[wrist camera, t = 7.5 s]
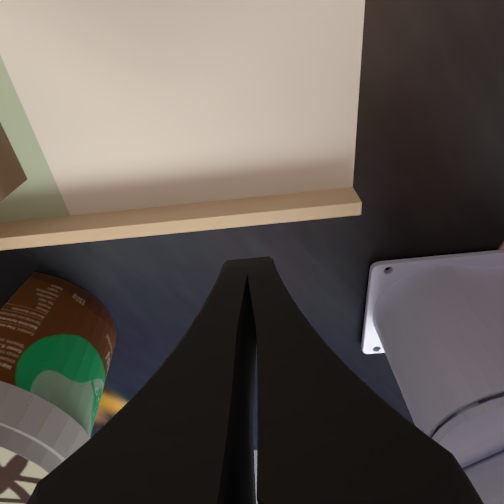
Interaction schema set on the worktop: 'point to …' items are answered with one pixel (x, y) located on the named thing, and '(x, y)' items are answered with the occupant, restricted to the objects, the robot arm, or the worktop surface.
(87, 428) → the food container
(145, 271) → the worktop surface
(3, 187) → the walnut block
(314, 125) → the trap deck
